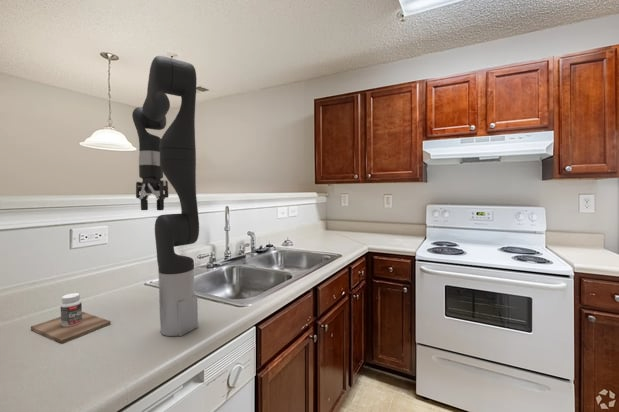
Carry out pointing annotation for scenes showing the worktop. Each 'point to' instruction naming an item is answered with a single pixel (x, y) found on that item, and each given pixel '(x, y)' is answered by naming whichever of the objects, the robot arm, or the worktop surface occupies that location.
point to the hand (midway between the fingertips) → (152, 210)
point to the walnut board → (70, 328)
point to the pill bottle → (71, 310)
